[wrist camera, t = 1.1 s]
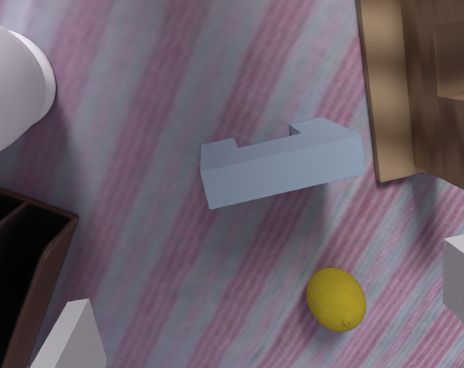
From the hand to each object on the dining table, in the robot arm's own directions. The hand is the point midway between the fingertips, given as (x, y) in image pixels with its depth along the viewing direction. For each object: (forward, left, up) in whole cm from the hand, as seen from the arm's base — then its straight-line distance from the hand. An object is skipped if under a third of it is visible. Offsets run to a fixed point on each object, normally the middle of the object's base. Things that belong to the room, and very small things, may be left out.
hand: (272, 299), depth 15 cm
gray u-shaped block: (-2, +3, -25) cm, 26 cm away
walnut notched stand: (-14, +14, -25) cm, 32 cm away
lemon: (+10, +14, -26) cm, 31 cm away
